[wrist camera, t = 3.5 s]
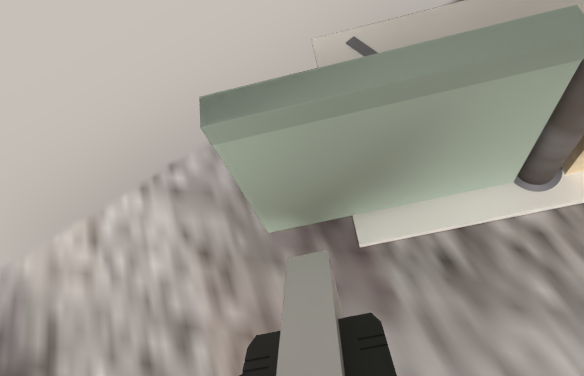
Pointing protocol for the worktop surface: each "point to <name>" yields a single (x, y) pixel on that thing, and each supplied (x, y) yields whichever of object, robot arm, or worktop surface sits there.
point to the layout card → (468, 205)
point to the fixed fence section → (559, 137)
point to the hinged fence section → (395, 121)
